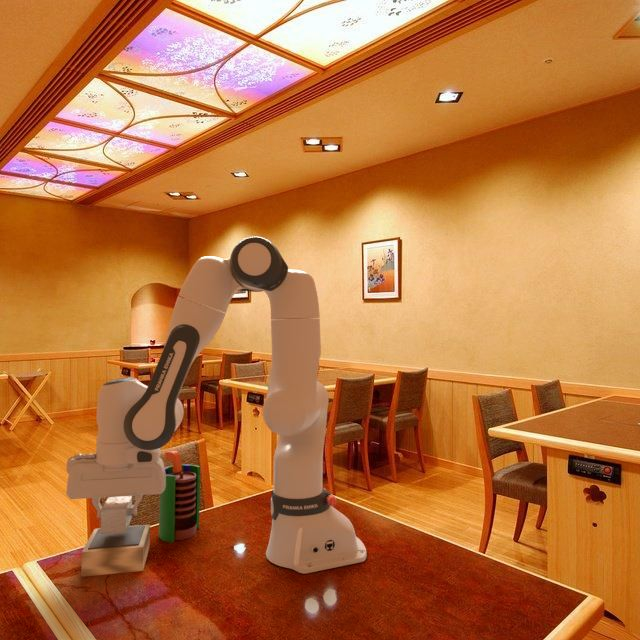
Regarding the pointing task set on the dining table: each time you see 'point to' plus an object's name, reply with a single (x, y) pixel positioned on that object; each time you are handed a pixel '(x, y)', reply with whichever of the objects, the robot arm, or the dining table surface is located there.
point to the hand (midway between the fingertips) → (117, 515)
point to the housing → (116, 515)
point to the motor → (179, 500)
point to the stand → (116, 551)
